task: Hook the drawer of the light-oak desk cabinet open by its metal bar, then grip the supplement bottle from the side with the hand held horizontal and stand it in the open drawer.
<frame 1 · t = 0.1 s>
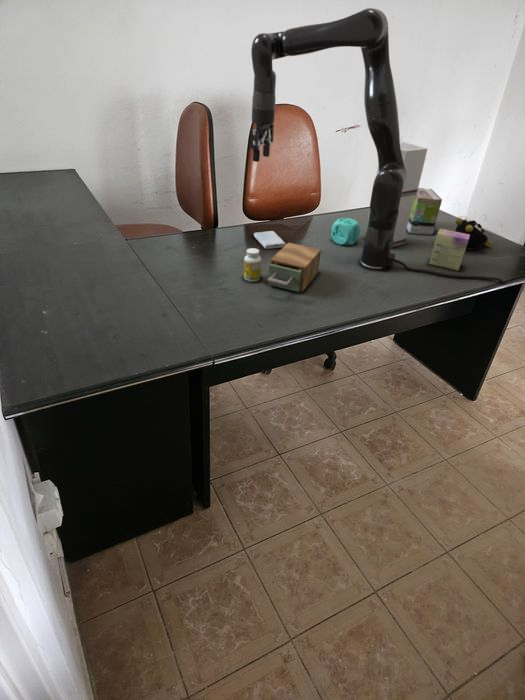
hand: (261, 158, 164), 29 cm above the table, tool pointing down, fingers open, 8 cm apart
hard drive: (269, 242, 179), on the table
supplement bottle: (251, 278, 154), on the table
cabinet: (294, 278, 155), on the table
box: (444, 265, 170), on the table
tall white carton: (384, 241, 186), on the table
drawer: (289, 273, 149), point 4 cm above the table, slide at 1.0 cm
black yellow plush toy: (469, 248, 185), on the table
tea box: (416, 228, 200), on the table
decorative dice: (343, 242, 183), on the table
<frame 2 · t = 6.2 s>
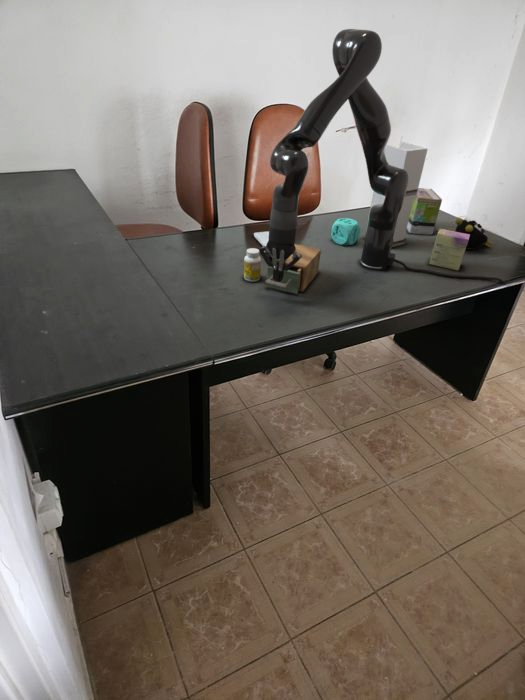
hand: (277, 280, 141), 6 cm above the table, tool pointing down, fingers closed
drawer: (287, 274, 148), point 4 cm above the table, slide at 2.4 cm, touching gripper
everything else where it was.
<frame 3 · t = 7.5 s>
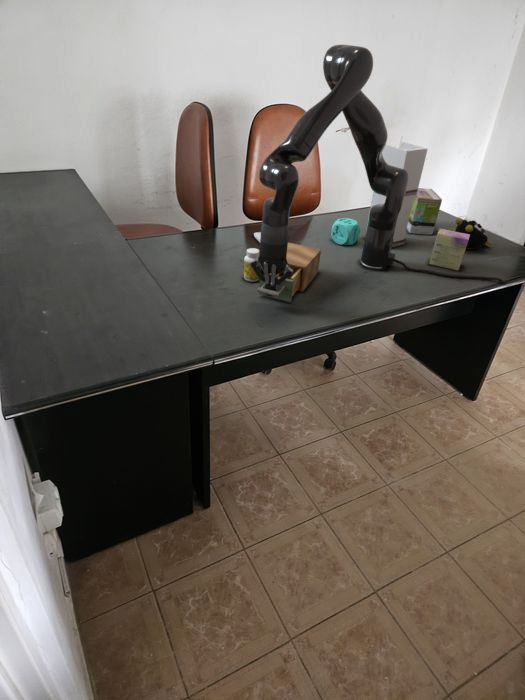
hand: (270, 294, 138), 3 cm above the table, tool pointing down, fingers closed
drawer: (280, 282, 143), point 4 cm above the table, slide at 8.1 cm, touching gripper
everything else where it was.
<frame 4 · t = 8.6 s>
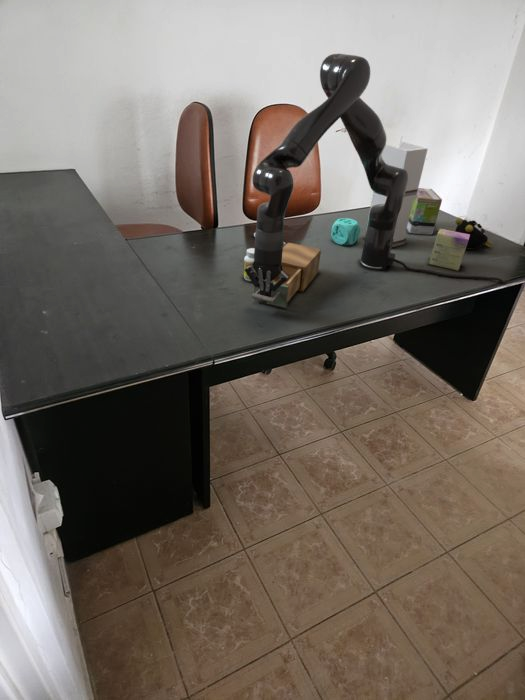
hand: (265, 301, 135), 3 cm above the table, tool pointing down, fingers closed
drawer: (275, 287, 140), point 4 cm above the table, slide at 12.0 cm, touching gripper
everything else where it was.
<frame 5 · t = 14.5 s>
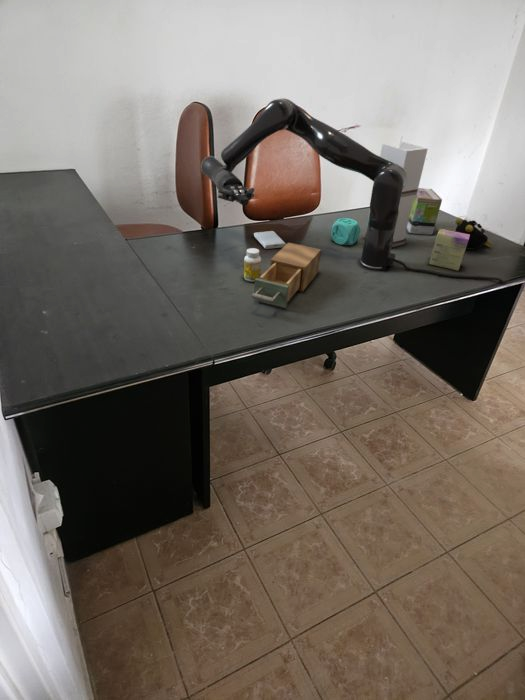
hand: (245, 202, 148), 22 cm above the table, tool horizontal, fingers closed
drawer: (275, 287, 140), point 4 cm above the table, slide at 12.0 cm
everything else where it was.
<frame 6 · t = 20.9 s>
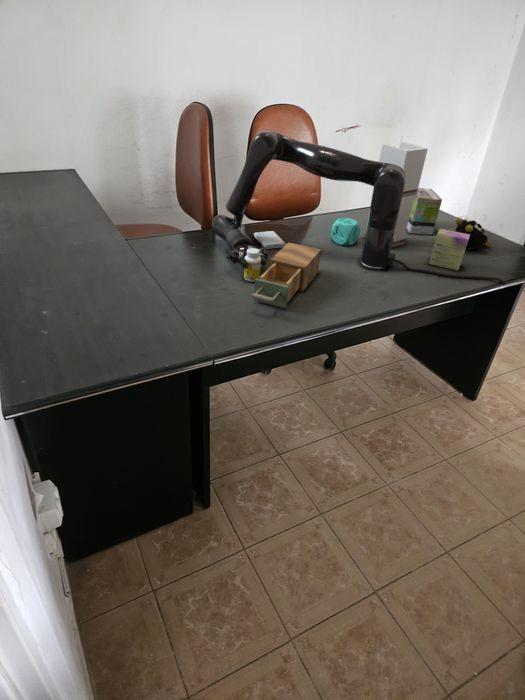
hand: (255, 264, 148), 6 cm above the table, tool horizontal, fingers closed on supplement bottle, 5 cm apart
supplement bottle: (251, 278, 154), on the table, touching gripper
everything else where it was.
when the fingers open (12 cm above the table, at t = 45.1 s): supplement bottle drops 5 cm, resting on drawer.
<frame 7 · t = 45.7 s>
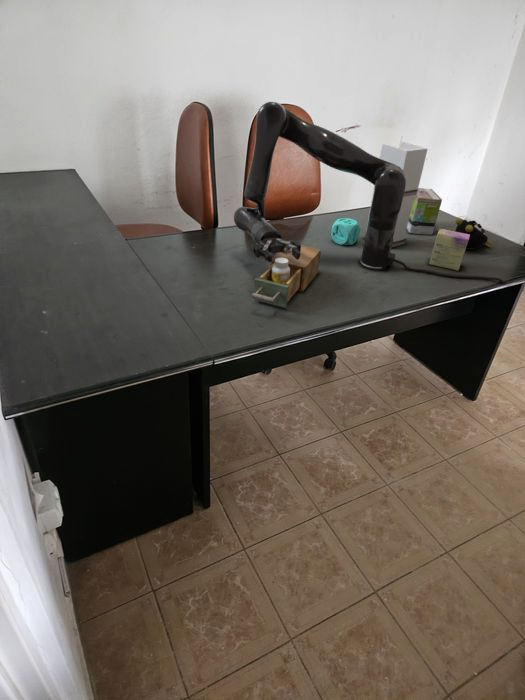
hand: (284, 257, 136), 13 cm above the table, tool horizontal, fingers open, 8 cm apart
supplement bottle: (279, 290, 144), point 2 cm above the table, touching drawer
drawer: (275, 287, 140), point 4 cm above the table, slide at 12.0 cm, touching supplement bottle
everything else where it was.
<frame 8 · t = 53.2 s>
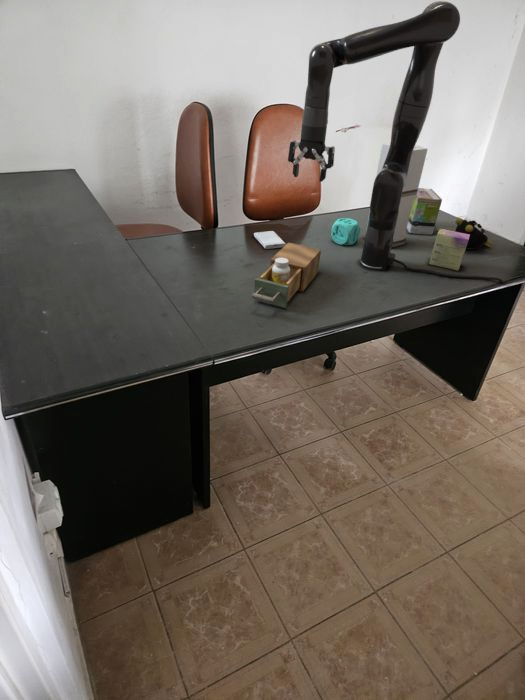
hand: (308, 178, 151), 28 cm above the table, tool pointing down, fingers open, 8 cm apart
nothing on the table moved.
at the end: drawer slide at 12.0 cm; supplement bottle inside the target area (0.2 cm from its centre), point 1.7 cm above the table; supplement bottle touching drawer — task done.
